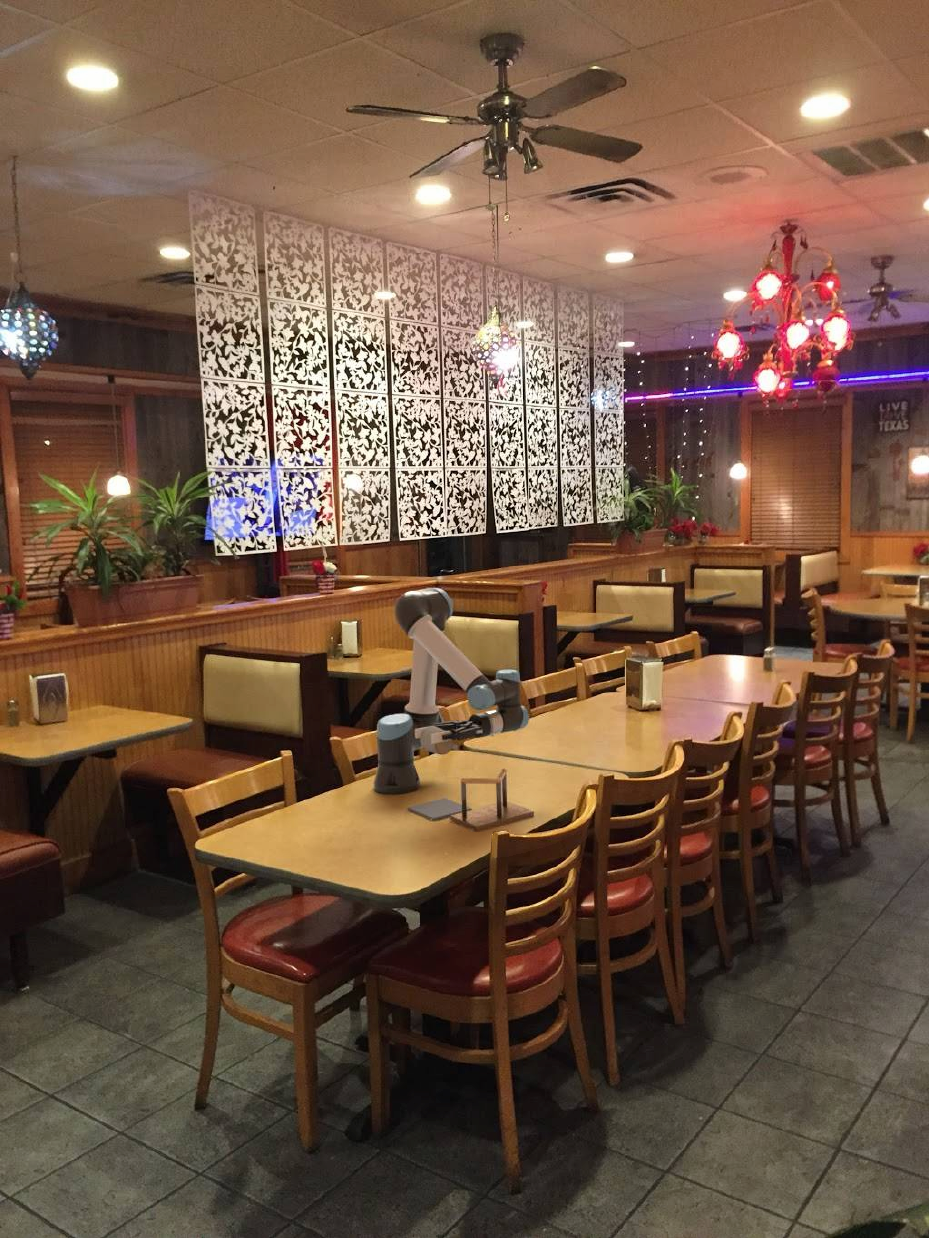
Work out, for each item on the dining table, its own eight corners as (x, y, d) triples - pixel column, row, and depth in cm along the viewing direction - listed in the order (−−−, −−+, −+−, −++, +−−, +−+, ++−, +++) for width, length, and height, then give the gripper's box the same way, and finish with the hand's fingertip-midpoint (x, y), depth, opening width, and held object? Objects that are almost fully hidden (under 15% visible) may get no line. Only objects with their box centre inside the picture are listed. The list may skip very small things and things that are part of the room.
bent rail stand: (450, 820, 291) (448, 777, 289) (506, 805, 303) (505, 764, 302) (476, 831, 281) (475, 787, 279) (533, 816, 293) (533, 773, 291)
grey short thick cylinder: (436, 757, 293) (435, 732, 292) (420, 752, 300) (419, 727, 299) (464, 751, 300) (464, 726, 299) (448, 746, 306) (447, 722, 305)
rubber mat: (407, 809, 302) (407, 807, 302) (445, 800, 311) (445, 797, 310) (433, 820, 291) (433, 818, 291) (471, 810, 299) (471, 808, 299)
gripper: (505, 742, 300) (444, 755, 287) (465, 730, 317) (405, 742, 304) (505, 717, 299) (443, 729, 286) (464, 707, 316) (404, 718, 303)
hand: (423, 736), depth 295 cm, fingers closed on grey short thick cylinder, 8 cm apart
